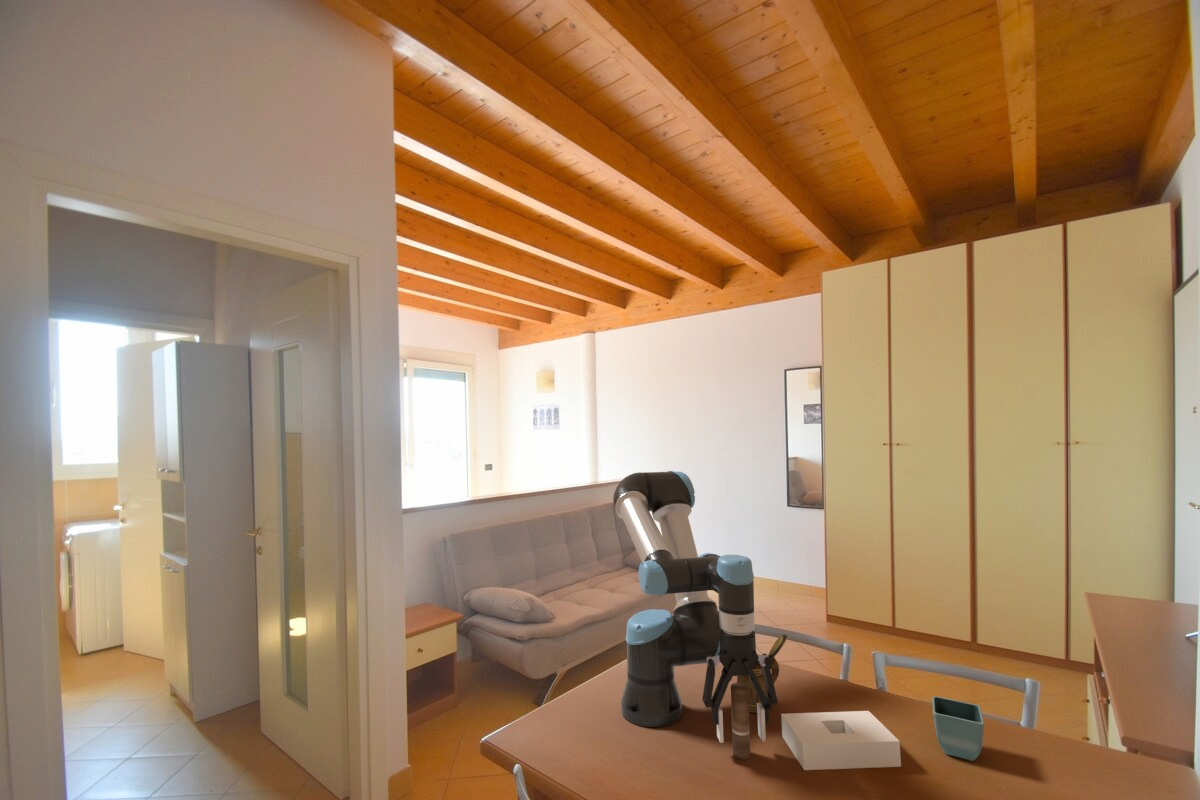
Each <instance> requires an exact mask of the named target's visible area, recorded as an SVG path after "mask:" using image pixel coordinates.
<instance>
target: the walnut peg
mask: <svg viewBox="0 0 1200 800" xmlns="http://www.w3.org/2000/svg"><path fill="white" fill-rule="evenodd" d="M730 700H731V701H730V706H731V710H730V711H731V732H732V733H731V735H732V736H731V737H732V755H733V757H734V758H736V759H739V760H743V761H744V760H748V759H749V760H750V758H751V737H750V736H751V734H750V732H751V731H750V712H749V703H748V687H747V686H746V685H745V684H742V683H737V682H734V683H731V684H730Z"/></svg>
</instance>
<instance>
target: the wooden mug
mask: <svg viewBox="0 0 1200 800" xmlns="http://www.w3.org/2000/svg"><path fill="white" fill-rule="evenodd" d="M787 639H788V635H787V634H782V635H781V636H779V637H778V638H777V639H776V640H775V642H774V644H773V645H772V647H771V648H770V651H769V653H768V654H767V655H768V656H769V658H770V659H771V668H770V670H771V674H772V679H773V683H774V684H775V683H776V682H777V679H778V677H779V673H780V667H779V663H778V661H777V660H776V658H775V657H776V656H777V654H779V652H780V651H781V649H782V648H783V647H784V645H785V643H786V641H787ZM753 671H754V673H755V675H756V678H757V680H758V682H759V684H760V686H761V688H762V690H763V692H764V695H765V697H768V693H767V689H766V684H765V680H764V675H763V671H762V666H761V665H760V663H759V661H757V663H756V664H755V666H754V668H753ZM736 678H737V679H736V683H742V684H745V685H746V686H747V687H748V703H749V713H752V714H753V713H754V714H757V703H761V701H760V699H759V697H758V695H757V693H756V691H755V689H754V687H753V685H752V683H751V680H750V678H749V676H748V674H747V676H743V675H738V676H736ZM772 706H773V705H771V707H772Z"/></svg>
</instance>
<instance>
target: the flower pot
mask: <svg viewBox="0 0 1200 800" xmlns="http://www.w3.org/2000/svg"><path fill="white" fill-rule="evenodd" d="M931 698H932V699H931V700H932V714H933V716H932V717H933V720H934V729H935V733H936V737H937V742H938V744H939V745H940V748H941V750H943V752H944V754H945V755H949V756H952V757H956V758H959V759H964V760H967V761H972V762H973V761H974V762H975V760H976V759H977V758H978V757H979V756H980V754H981V751H982V748H983V743H984V742H983V741H984V731H985V730H984V728H985V722H984V718H983V715H982V709H981V706H980V705H979V704H974V703H969V702H964V701H959V700H955V699H951V698H945V697H941V696H934V695H933V696H931Z"/></svg>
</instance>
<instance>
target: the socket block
mask: <svg viewBox="0 0 1200 800" xmlns="http://www.w3.org/2000/svg"><path fill="white" fill-rule="evenodd" d="M780 715H781V735H782V739H783V740H784V742H785V743H786V745H787V746H788V748H789V749H790V751H791V752H792V754H793V755H794V757H795V758H796V760H797V762H798V763H799V764H800V766H801V767H802V769H803V770H804V771H814V770H815V771H816V770H817V771H820V770H822V771H823V770H843V769H844V770H845V769H850V770H851V769H867V768H868V769H870V768H871V769H873V768H900V767H902V762H901V758H902V757H901V745H900V744H901V742H900V740H899V738H897V737H896V736H895V735H894V734H893V733H892V732H891V731H890V730H889V729H888V728H887V727H886V726H885V725H884V724H883V723H882V722H881V721H879V719H878V718H877V717H876V716H875V715H873V714H872V712H870V711H869V710H857V711H855V710H852V711H851V710H850V711H825V712H822V711H821V712H795V713H781V714H780Z"/></svg>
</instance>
